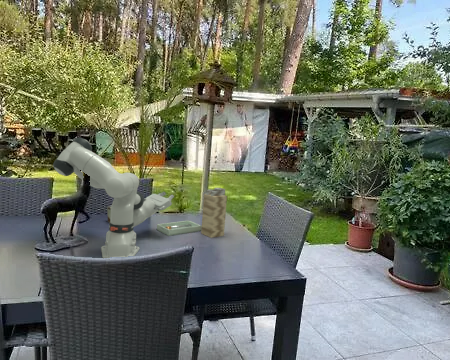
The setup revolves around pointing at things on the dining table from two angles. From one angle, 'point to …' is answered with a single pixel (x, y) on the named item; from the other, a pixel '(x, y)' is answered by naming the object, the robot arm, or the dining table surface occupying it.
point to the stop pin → (178, 226)
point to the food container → (109, 213)
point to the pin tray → (178, 231)
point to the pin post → (214, 213)
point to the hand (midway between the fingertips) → (169, 194)
